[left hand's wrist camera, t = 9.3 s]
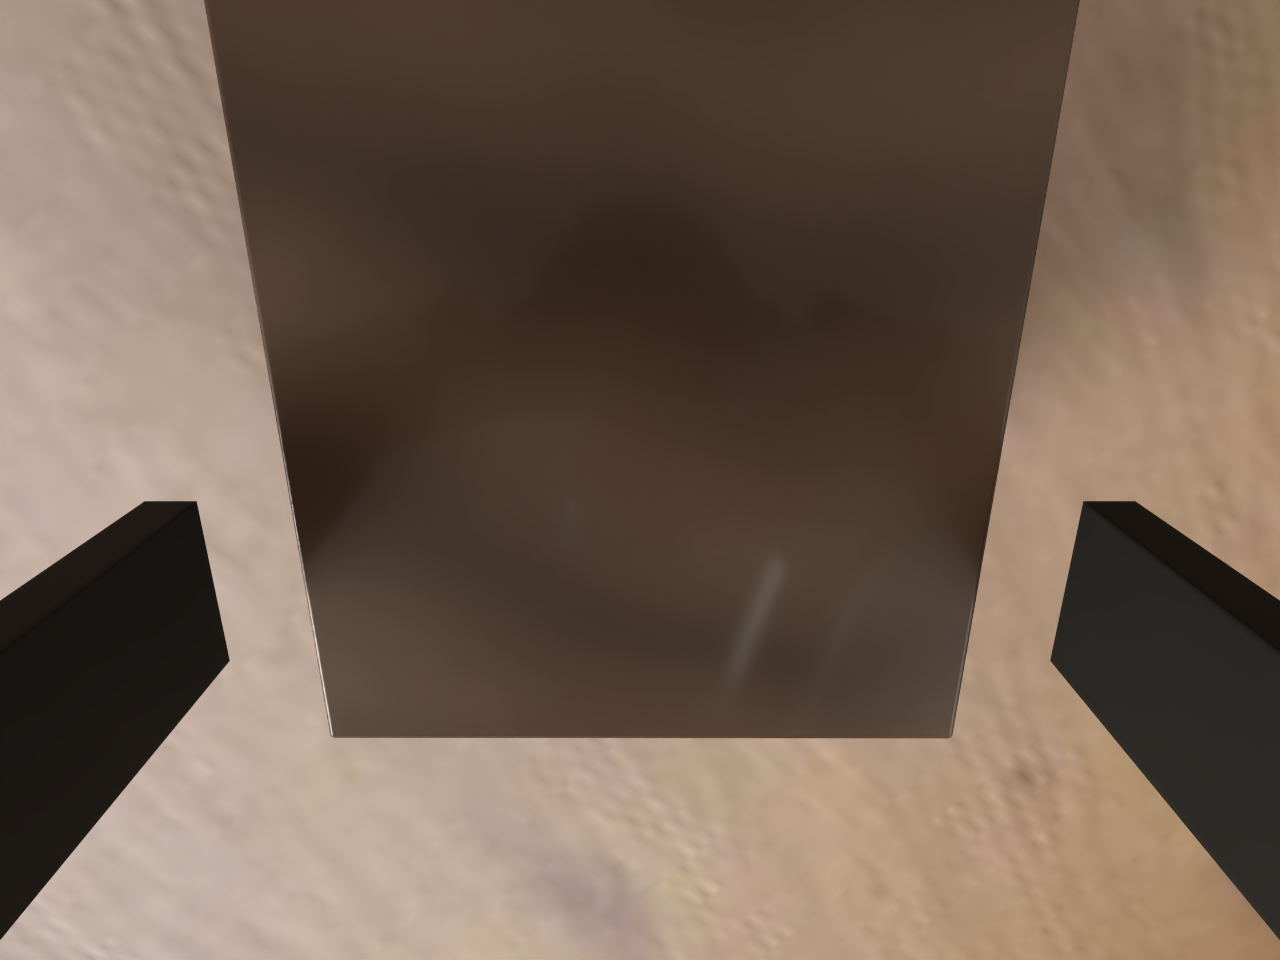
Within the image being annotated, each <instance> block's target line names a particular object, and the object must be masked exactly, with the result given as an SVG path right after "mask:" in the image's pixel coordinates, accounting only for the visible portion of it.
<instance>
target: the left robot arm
mask: <svg viewBox="0 0 1280 960" xmlns="http://www.w3.org/2000/svg"><path fill="white" fill-rule="evenodd" d="M229 661H230V660H229V655H228V650H227V646H226V641H225V636H224V631H223V626H222V622H221V617H220V612H219V607H218V602H217V598H216V593H215V588H214V583H213V578H212V573H211V569H210V564H209V559H208V554H207V549H206V545H205V540H204V535H203V530H202V525H201V521H200V516H199V511H198V506H197V501H145V502H143V503H142V504H140V505H139V506H137V507H136V508H134V509H133V510H131V511H130V512H129V513H127V514H126V515H124V516H123V517H121V518H120V519H118V520H117V521H115V522H114V523H113V524H111V525H110V526H108V527H107V528H105V529H104V530H102V531H101V532H99V533H98V534H97V535H95V536H94V537H92V538H91V539H89V540H88V541H86V542H85V543H83V544H82V545H81V546H79V547H78V548H76V549H75V550H73V551H72V552H70V553H69V554H67V555H66V556H65V557H63V558H62V559H60V560H59V561H57V562H56V563H54V564H53V565H51V566H50V567H48V568H47V569H46V570H44V571H43V572H41V573H40V574H38V575H37V576H35V577H34V578H32V579H31V580H30V581H28V582H27V583H25V584H24V585H22V586H21V587H19V588H18V589H16V590H15V591H14V592H12V593H11V594H9V595H8V596H6V597H5V598H3V599H2V600H0V940H1V938H2V937H3V936H4V935H5V933H6V932H7V931H8V930H9V929H10V927H11V926H12V925H13V924H14V923H15V921H16V920H17V919H18V918H19V916H20V915H21V914H22V913H23V912H24V910H25V909H26V908H27V907H28V906H29V904H30V903H31V902H32V901H33V899H34V898H35V897H36V896H37V895H38V893H39V892H40V891H41V890H42V888H43V887H44V886H45V885H46V884H47V882H48V881H49V880H50V879H51V878H52V876H53V875H54V874H55V873H56V871H57V870H58V869H59V868H60V867H61V865H62V864H63V863H64V862H65V860H66V859H67V858H68V857H69V856H70V854H71V853H72V852H73V851H74V850H75V848H76V847H77V846H78V845H79V843H80V842H81V841H82V840H83V839H84V837H85V836H86V835H87V834H88V832H89V831H90V830H91V829H92V828H93V826H94V825H95V824H96V823H97V822H98V820H99V819H100V818H101V817H102V815H103V814H104V813H105V812H106V811H107V809H108V808H109V807H110V806H111V804H112V803H113V802H114V801H115V800H116V798H117V797H118V796H119V795H120V794H121V792H122V791H123V790H124V789H125V787H126V786H127V785H128V784H129V783H130V781H131V780H132V779H133V778H134V776H135V775H136V774H137V773H138V772H139V770H140V769H141V768H142V767H143V766H144V764H145V763H146V762H147V761H148V759H149V758H150V757H151V756H152V755H153V753H154V752H155V751H156V750H157V749H158V747H159V746H160V745H161V744H162V742H163V741H164V740H165V739H166V738H167V736H168V735H169V734H170V733H171V731H172V730H173V729H174V728H175V727H176V725H177V724H178V723H179V722H180V721H181V719H182V718H183V717H184V716H185V714H186V713H187V712H188V711H189V710H190V708H191V707H192V706H193V705H194V703H195V702H196V701H197V700H198V699H199V697H200V696H201V695H202V694H203V693H204V691H205V690H206V689H207V688H208V686H209V685H210V684H211V683H212V682H213V680H214V679H215V678H216V677H217V675H218V674H219V673H220V672H221V671H222V669H223V668H224V667H225V666H226V665H227V663H228V662H229ZM1050 661H1051V662H1052V663H1053V665H1054V666H1055V667H1056V668H1057V669H1058V671H1059V672H1060V673H1061V674H1062V675H1063V677H1064V678H1065V679H1066V680H1067V682H1068V683H1069V684H1070V685H1071V686H1072V688H1073V689H1074V690H1075V691H1076V693H1077V694H1078V695H1079V696H1080V697H1081V699H1082V700H1083V701H1084V702H1085V703H1086V705H1087V706H1088V707H1089V708H1090V710H1091V711H1092V712H1093V713H1094V714H1095V716H1096V717H1097V718H1098V719H1099V721H1100V722H1101V723H1102V724H1103V725H1104V727H1105V728H1106V729H1107V730H1108V731H1109V733H1110V734H1111V735H1112V736H1113V738H1114V739H1115V740H1116V741H1117V742H1118V744H1119V745H1120V746H1121V747H1122V749H1123V750H1124V751H1125V752H1126V753H1127V755H1128V756H1129V757H1130V758H1131V759H1132V761H1133V762H1134V763H1135V764H1136V766H1137V767H1138V768H1139V769H1140V770H1141V772H1142V773H1143V774H1144V775H1145V776H1146V778H1147V779H1148V780H1149V781H1150V783H1151V784H1152V785H1153V786H1154V787H1155V789H1156V790H1157V791H1158V792H1159V794H1160V795H1161V796H1162V797H1163V798H1164V800H1165V801H1166V802H1167V803H1168V804H1169V806H1170V807H1171V808H1172V809H1173V811H1174V812H1175V813H1176V814H1177V815H1178V817H1179V818H1180V819H1181V820H1182V822H1183V823H1184V824H1185V825H1186V826H1187V828H1188V829H1189V830H1190V831H1191V832H1192V834H1193V835H1194V836H1195V837H1196V839H1197V840H1198V841H1199V842H1200V843H1201V845H1202V846H1203V847H1204V848H1205V850H1206V851H1207V852H1208V853H1209V854H1210V856H1211V857H1212V858H1213V859H1214V860H1215V862H1216V863H1217V864H1218V865H1219V867H1220V868H1221V869H1222V870H1223V871H1224V873H1225V874H1226V875H1227V876H1228V878H1229V879H1230V880H1231V881H1232V882H1233V884H1234V885H1235V886H1236V887H1237V888H1238V890H1239V891H1240V892H1241V893H1242V895H1243V896H1244V897H1245V898H1246V899H1247V901H1248V902H1249V903H1250V904H1251V906H1252V907H1253V908H1254V909H1255V910H1256V912H1257V913H1258V914H1259V915H1260V916H1261V918H1262V919H1263V920H1264V921H1265V923H1266V924H1267V925H1268V926H1269V927H1270V929H1271V930H1272V931H1273V932H1274V933H1275V935H1276V936H1277V937H1278V938H1279V940H1280V600H1278V599H1277V598H1275V597H1274V596H1272V595H1271V594H1269V593H1268V592H1266V591H1265V590H1264V589H1262V588H1261V587H1259V586H1258V585H1256V584H1255V583H1253V582H1252V581H1250V580H1249V579H1248V578H1246V577H1245V576H1243V575H1242V574H1240V573H1239V572H1237V571H1236V570H1234V569H1233V568H1232V567H1230V566H1229V565H1227V564H1226V563H1224V562H1223V561H1221V560H1220V559H1218V558H1217V557H1215V556H1214V555H1213V554H1211V553H1210V552H1208V551H1207V550H1205V549H1204V548H1202V547H1201V546H1199V545H1198V544H1197V543H1195V542H1194V541H1192V540H1191V539H1189V538H1188V537H1186V536H1185V535H1183V534H1182V533H1181V532H1179V531H1178V530H1176V529H1175V528H1173V527H1172V526H1170V525H1169V524H1167V523H1166V522H1165V521H1163V520H1162V519H1160V518H1159V517H1157V516H1156V515H1154V514H1153V513H1151V512H1150V511H1149V510H1147V509H1146V508H1144V507H1143V506H1141V505H1140V504H1138V503H1137V502H1135V501H1083V506H1082V511H1081V516H1080V521H1079V525H1078V530H1077V535H1076V540H1075V545H1074V549H1073V554H1072V559H1071V564H1070V569H1069V573H1068V578H1067V583H1066V588H1065V593H1064V598H1063V602H1062V607H1061V612H1060V617H1059V622H1058V626H1057V631H1056V636H1055V641H1054V646H1053V650H1052V655H1051V660H1050Z"/></svg>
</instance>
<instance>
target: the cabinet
mask: <svg viewBox="0 0 1280 960" xmlns="http://www.w3.org/2000/svg"><path fill="white" fill-rule="evenodd" d="M1079 1H1080V0H204V2H205V8H206V14H207V19H208V25H209V31H210V37H211V43H212V48H213V54H214V60H215V66H216V72H217V78H218V83H219V89H220V95H221V101H222V107H223V112H224V118H225V124H226V130H227V136H228V142H229V147H230V153H231V159H232V165H233V171H234V176H235V182H236V188H237V194H238V200H239V206H240V211H241V217H242V223H243V229H244V235H245V240H246V246H247V252H248V258H249V264H250V270H251V275H252V281H253V287H254V293H255V299H256V304H257V310H258V316H259V322H260V328H261V334H262V339H263V345H264V351H265V357H266V363H267V368H268V374H269V380H270V386H271V392H272V398H273V403H274V409H275V415H276V421H277V427H278V432H279V438H280V444H281V450H282V456H283V462H284V467H285V473H286V479H287V485H288V491H289V496H290V502H291V508H292V514H293V520H294V526H295V531H296V537H297V543H298V549H299V555H300V560H301V566H302V572H303V578H304V584H305V590H306V595H307V601H308V607H309V613H310V619H311V624H312V630H313V636H314V642H315V648H316V654H317V659H318V665H319V671H320V677H321V683H322V688H323V694H324V700H325V706H326V712H327V718H328V723H329V729H330V735H331V736H332V737H334V738H950V737H951V736H952V734H953V728H954V722H955V716H956V711H957V705H958V699H959V693H960V688H961V682H962V676H963V670H964V664H965V659H966V653H967V647H968V641H969V636H970V630H971V624H972V618H973V613H974V607H975V601H976V595H977V589H978V584H979V578H980V572H981V566H982V561H983V555H984V549H985V543H986V538H987V532H988V526H989V520H990V514H991V509H992V503H993V497H994V491H995V486H996V480H997V474H998V468H999V463H1000V457H1001V451H1002V445H1003V439H1004V434H1005V428H1006V422H1007V416H1008V411H1009V405H1010V399H1011V393H1012V388H1013V382H1014V376H1015V370H1016V364H1017V359H1018V353H1019V347H1020V341H1021V336H1022V330H1023V324H1024V318H1025V313H1026V307H1027V301H1028V295H1029V289H1030V284H1031V278H1032V272H1033V266H1034V261H1035V255H1036V249H1037V243H1038V238H1039V232H1040V226H1041V220H1042V214H1043V209H1044V203H1045V197H1046V191H1047V186H1048V180H1049V174H1050V168H1051V163H1052V157H1053V151H1054V145H1055V139H1056V134H1057V128H1058V122H1059V116H1060V111H1061V105H1062V99H1063V93H1064V88H1065V82H1066V76H1067V70H1068V64H1069V59H1070V53H1071V47H1072V41H1073V36H1074V30H1075V24H1076V18H1077V13H1078V7H1079Z"/></svg>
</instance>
